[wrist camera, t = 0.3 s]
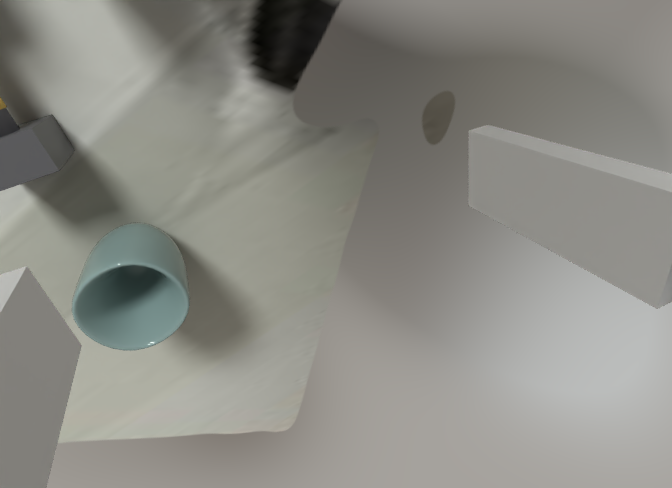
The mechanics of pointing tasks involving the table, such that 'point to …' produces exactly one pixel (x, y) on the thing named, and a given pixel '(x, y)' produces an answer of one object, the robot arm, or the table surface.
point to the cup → (132, 288)
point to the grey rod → (6, 121)
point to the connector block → (33, 152)
